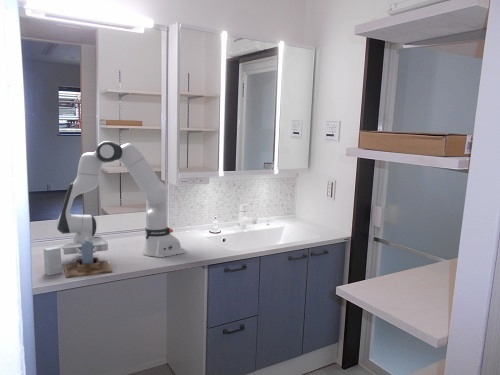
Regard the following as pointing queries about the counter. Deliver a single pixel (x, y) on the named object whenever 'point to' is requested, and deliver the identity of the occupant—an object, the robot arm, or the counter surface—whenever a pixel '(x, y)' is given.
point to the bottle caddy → (87, 268)
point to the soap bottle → (87, 252)
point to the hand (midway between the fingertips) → (87, 251)
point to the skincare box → (52, 260)
